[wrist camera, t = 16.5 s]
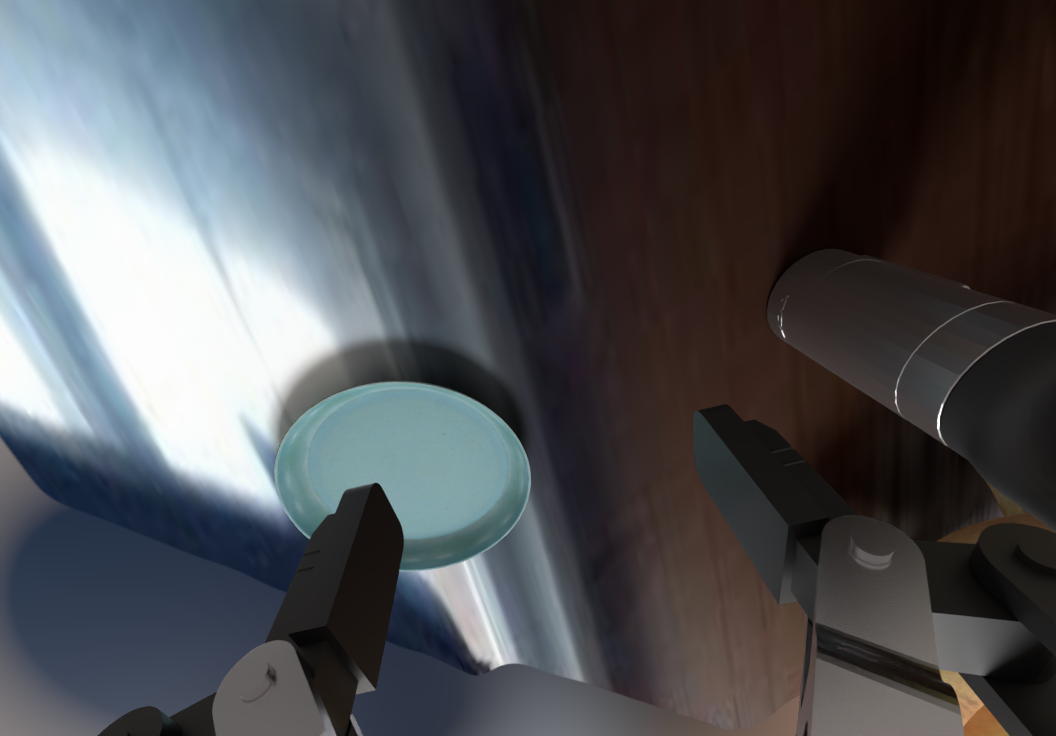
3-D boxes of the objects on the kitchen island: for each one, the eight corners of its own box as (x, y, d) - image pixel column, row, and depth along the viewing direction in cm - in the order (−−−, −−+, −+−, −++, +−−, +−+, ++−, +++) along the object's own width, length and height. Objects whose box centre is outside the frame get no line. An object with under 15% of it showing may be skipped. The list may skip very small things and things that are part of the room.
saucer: (369, 314, 37) (361, 329, 34) (573, 445, 46) (580, 465, 43) (242, 491, 44) (226, 516, 41) (441, 573, 53) (439, 599, 50)
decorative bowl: (1071, 480, 59) (1386, 659, 39) (852, 619, 69) (1010, 818, 49) (978, 346, 46) (1376, 509, 26) (726, 542, 56) (869, 768, 36)
